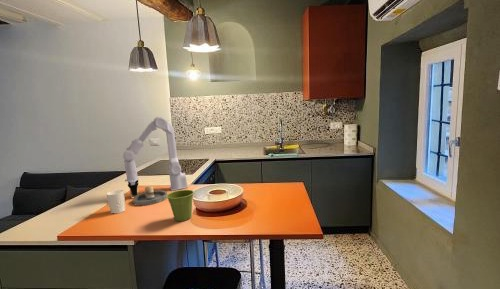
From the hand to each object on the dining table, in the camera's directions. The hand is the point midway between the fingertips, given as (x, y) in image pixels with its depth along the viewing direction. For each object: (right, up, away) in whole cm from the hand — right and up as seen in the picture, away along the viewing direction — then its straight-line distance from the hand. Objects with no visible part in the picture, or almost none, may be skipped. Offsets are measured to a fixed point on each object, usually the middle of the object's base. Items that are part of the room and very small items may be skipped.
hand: (134, 194), depth 169 cm
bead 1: (0, -1, 0) cm, 1 cm away
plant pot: (+37, -4, -39) cm, 54 cm away
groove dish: (+12, -2, -8) cm, 14 cm away
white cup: (0, -5, -22) cm, 23 cm away
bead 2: (+10, 0, -4) cm, 11 cm away
